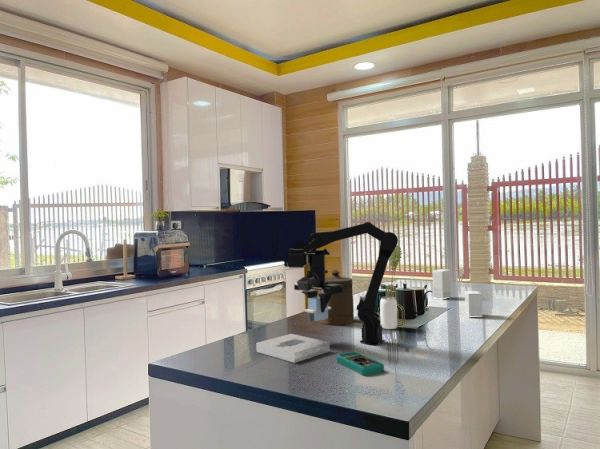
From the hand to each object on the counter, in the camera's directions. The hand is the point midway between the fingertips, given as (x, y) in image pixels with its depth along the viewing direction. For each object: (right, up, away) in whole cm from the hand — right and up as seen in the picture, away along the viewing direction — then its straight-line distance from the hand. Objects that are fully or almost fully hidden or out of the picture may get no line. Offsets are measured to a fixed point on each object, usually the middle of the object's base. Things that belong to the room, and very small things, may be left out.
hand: (318, 311), depth 159 cm
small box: (+69, -9, +36) cm, 78 cm away
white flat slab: (-9, -11, -12) cm, 18 cm away
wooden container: (+9, -11, +32) cm, 35 cm away
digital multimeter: (+11, -11, -29) cm, 33 cm away
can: (+29, -10, +18) cm, 36 cm away
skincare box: (+70, -9, +82) cm, 108 cm away
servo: (0, -3, 0) cm, 3 cm away
